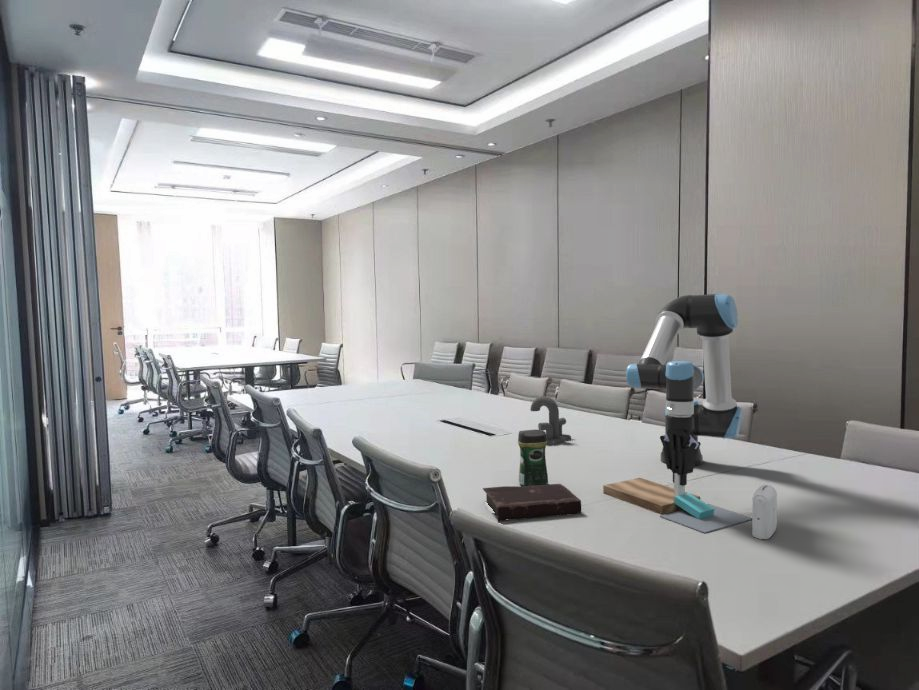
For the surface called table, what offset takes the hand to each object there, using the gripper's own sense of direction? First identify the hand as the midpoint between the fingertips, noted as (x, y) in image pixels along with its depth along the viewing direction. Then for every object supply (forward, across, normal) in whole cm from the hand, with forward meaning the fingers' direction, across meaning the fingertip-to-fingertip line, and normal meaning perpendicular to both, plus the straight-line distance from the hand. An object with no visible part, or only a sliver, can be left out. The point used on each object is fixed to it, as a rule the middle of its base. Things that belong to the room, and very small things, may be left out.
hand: (679, 495), depth 175 cm
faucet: (+4, -97, +25) cm, 100 cm away
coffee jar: (+4, -43, -21) cm, 48 cm away
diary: (+5, -24, -36) cm, 44 cm away
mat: (+4, +9, 0) cm, 10 cm away
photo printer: (+4, +24, +3) cm, 25 cm away
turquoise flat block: (+3, +5, 0) cm, 5 cm away
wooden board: (+4, -12, 0) cm, 12 cm away
